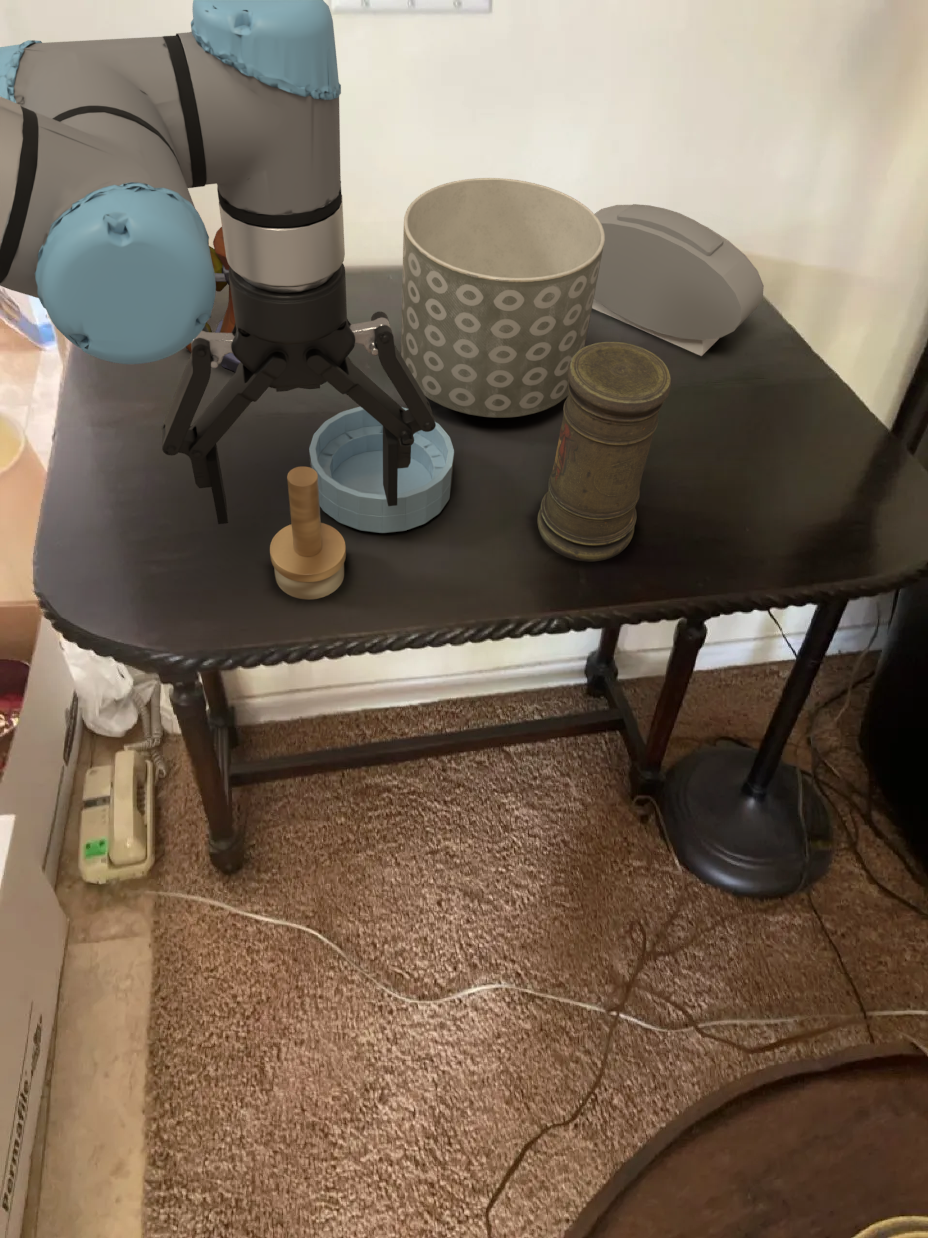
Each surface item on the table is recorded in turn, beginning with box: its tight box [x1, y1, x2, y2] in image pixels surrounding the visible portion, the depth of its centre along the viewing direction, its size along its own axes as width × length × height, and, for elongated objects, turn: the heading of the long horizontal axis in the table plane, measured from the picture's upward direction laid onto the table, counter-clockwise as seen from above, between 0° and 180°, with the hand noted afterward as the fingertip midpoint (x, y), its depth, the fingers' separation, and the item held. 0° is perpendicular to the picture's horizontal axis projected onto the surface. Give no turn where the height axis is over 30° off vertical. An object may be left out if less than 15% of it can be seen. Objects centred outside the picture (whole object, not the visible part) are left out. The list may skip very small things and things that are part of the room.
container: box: [536, 341, 672, 563], centre depth 85 cm, size 9×9×18 cm
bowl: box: [308, 406, 455, 534], centre depth 91 cm, size 13×13×5 cm
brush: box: [269, 465, 347, 600], centre depth 81 cm, size 6×6×12 cm
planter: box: [400, 177, 605, 419], centre depth 98 cm, size 19×19×18 cm
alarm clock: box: [592, 203, 765, 357], centre depth 110 cm, size 23×6×13 cm, turn 54°
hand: (307, 503), depth 79 cm, fingers open, 13 cm apart
